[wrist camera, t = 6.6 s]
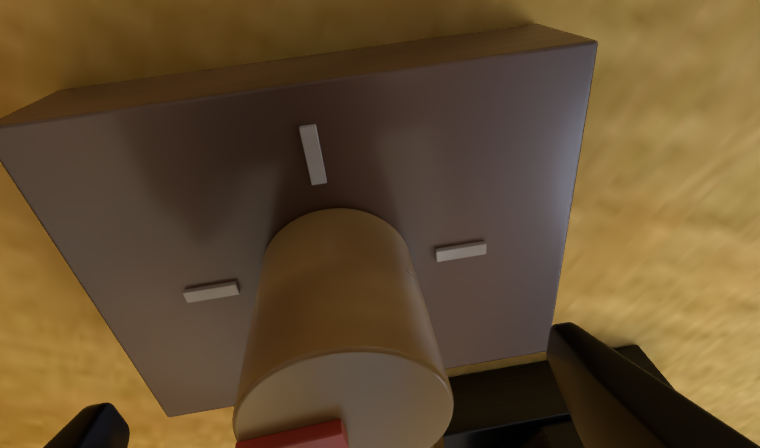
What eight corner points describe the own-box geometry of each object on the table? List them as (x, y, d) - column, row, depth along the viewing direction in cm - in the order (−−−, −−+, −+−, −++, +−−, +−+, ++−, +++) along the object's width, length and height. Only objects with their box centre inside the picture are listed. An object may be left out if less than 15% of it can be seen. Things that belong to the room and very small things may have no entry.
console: (538, 23, 11) (604, 41, 9) (514, 293, 17) (550, 355, 14) (56, 90, 11) (-29, 131, 8) (191, 347, 16) (166, 422, 14)
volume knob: (397, 190, 10) (448, 339, 6) (419, 306, 12) (467, 473, 8) (239, 227, 10) (186, 399, 6) (288, 336, 12) (273, 516, 8)
